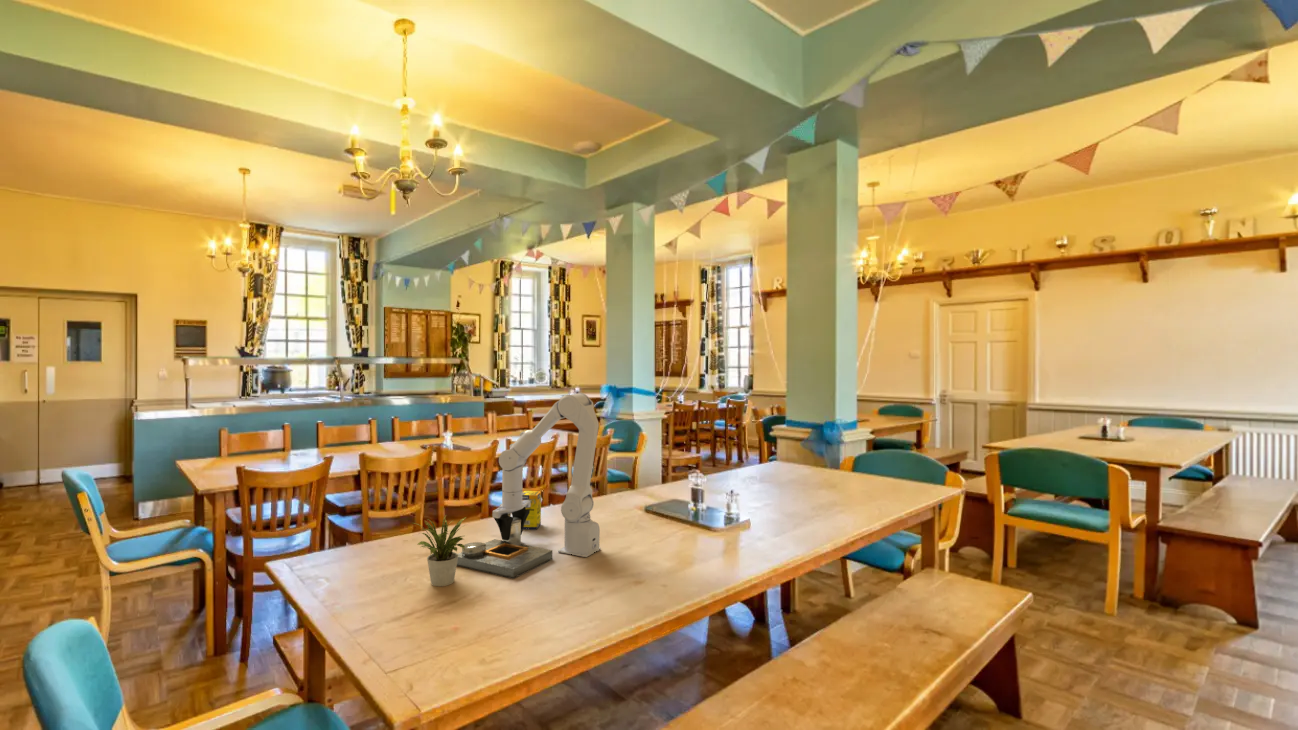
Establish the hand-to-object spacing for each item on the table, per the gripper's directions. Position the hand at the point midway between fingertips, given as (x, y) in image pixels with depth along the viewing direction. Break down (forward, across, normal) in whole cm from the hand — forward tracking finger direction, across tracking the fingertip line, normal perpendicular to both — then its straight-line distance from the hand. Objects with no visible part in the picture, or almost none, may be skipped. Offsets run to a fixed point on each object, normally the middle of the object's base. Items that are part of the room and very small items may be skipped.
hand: (511, 537), depth 171 cm
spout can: (+2, 0, 0) cm, 2 cm away
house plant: (+2, +32, +4) cm, 32 cm away
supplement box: (+2, -16, -6) cm, 17 cm away
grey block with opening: (+2, +13, +8) cm, 15 cm away
